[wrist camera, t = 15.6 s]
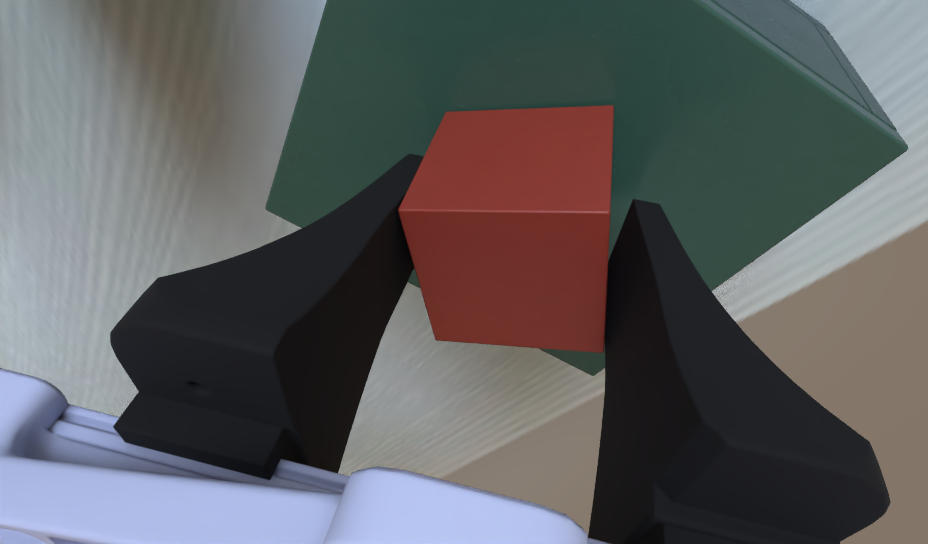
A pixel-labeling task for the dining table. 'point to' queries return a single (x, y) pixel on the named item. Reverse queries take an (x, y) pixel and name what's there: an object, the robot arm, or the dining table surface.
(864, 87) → the bin
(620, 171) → the bin lid
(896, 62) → the dining table surface
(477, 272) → the block
